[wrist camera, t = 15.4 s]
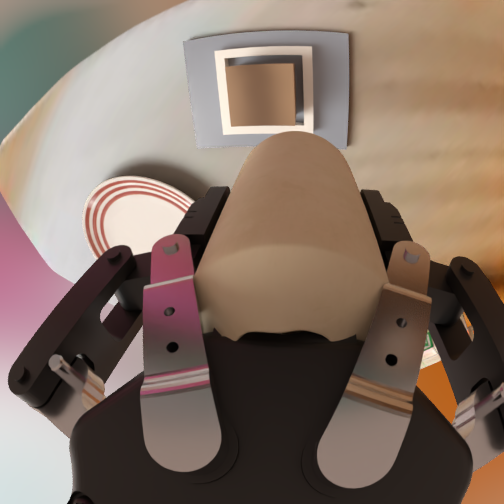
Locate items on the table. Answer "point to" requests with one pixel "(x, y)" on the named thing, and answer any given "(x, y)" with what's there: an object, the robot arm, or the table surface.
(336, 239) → the candle
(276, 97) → the walnut block
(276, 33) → the baseplate
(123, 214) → the dinner plate
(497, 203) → the table surface
